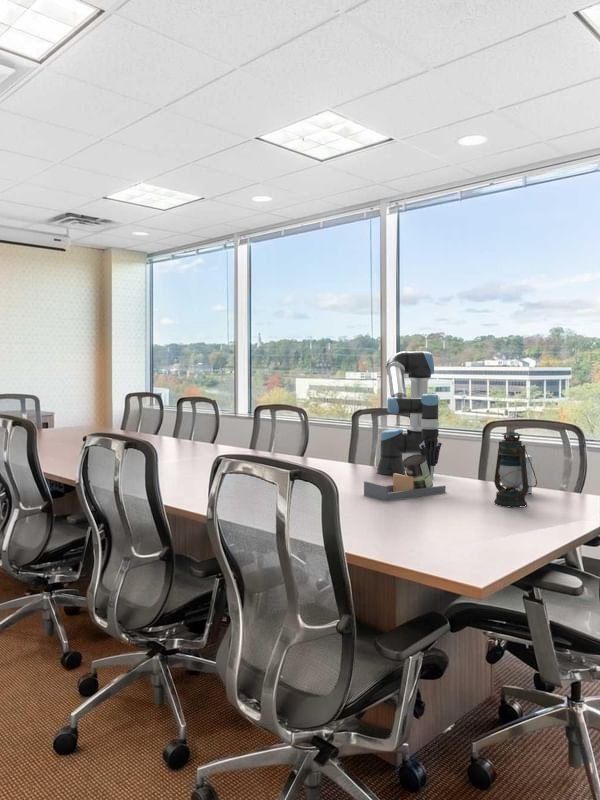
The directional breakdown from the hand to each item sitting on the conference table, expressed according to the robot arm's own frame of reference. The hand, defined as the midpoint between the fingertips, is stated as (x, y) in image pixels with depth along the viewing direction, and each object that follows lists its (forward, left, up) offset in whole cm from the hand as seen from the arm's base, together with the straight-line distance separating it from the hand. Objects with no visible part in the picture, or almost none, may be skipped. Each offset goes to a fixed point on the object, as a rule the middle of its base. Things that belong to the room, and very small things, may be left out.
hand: (430, 480), depth 281 cm
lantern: (-8, +39, -5) cm, 40 cm away
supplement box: (-32, +24, -5) cm, 40 cm away
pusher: (+16, 0, -5) cm, 17 cm away
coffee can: (+5, 0, -3) cm, 6 cm away
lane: (+14, 0, -5) cm, 15 cm away
